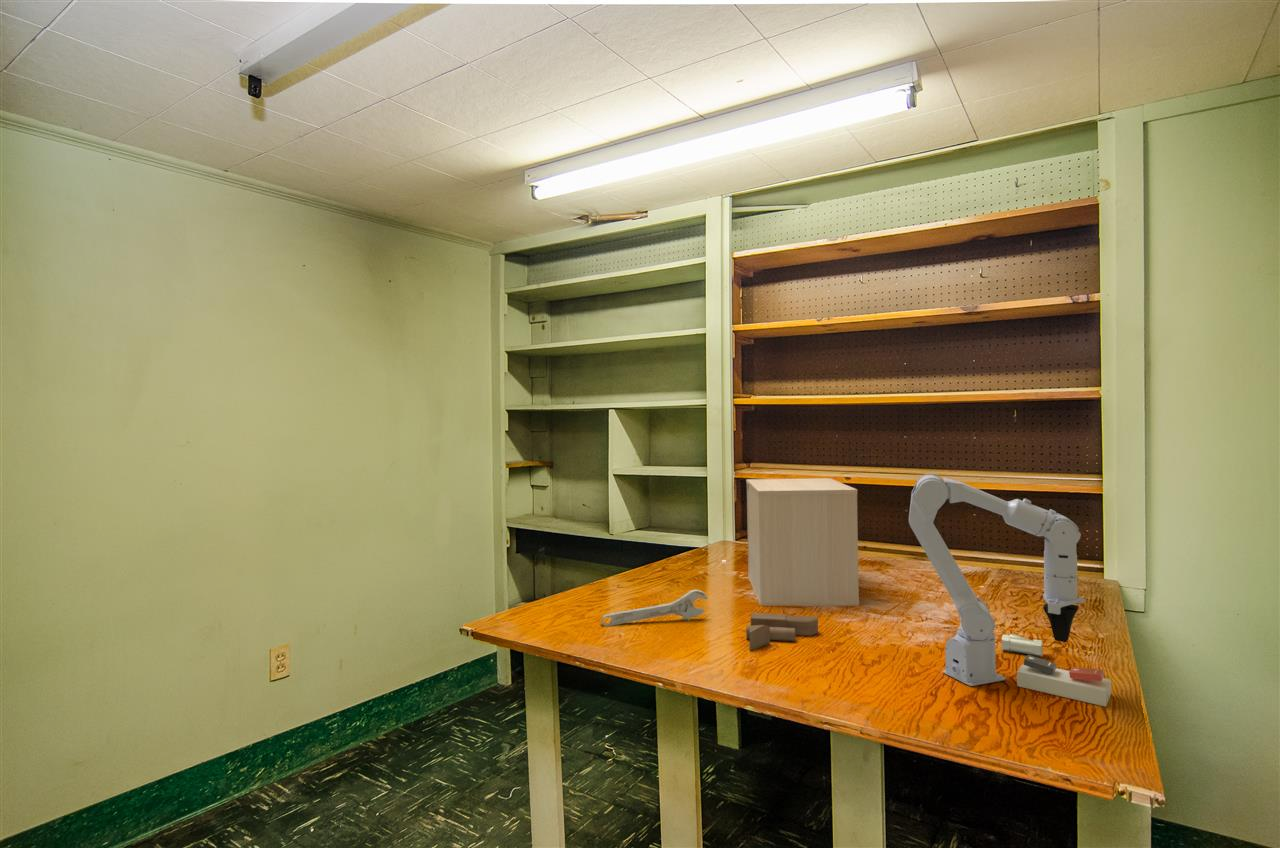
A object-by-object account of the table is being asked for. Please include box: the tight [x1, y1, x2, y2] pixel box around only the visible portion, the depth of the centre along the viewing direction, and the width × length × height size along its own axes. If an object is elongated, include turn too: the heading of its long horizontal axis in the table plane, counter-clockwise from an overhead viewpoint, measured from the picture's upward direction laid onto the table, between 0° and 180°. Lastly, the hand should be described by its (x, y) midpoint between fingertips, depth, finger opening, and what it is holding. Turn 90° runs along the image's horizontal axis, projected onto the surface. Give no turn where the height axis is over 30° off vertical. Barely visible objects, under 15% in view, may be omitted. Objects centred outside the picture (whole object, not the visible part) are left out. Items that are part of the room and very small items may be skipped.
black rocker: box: [1023, 654, 1058, 675], centre depth 134 cm, size 5×3×1 cm, turn 48°
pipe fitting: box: [1001, 633, 1044, 658], centre depth 153 cm, size 8×4×7 cm
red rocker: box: [1069, 666, 1105, 681], centre depth 129 cm, size 5×3×1 cm, turn 48°
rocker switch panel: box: [1016, 662, 1112, 707], centre depth 132 cm, size 15×7×3 cm, turn 48°
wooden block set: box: [745, 612, 819, 651], centre depth 164 cm, size 17×6×18 cm
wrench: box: [601, 589, 708, 627], centre depth 181 cm, size 8×2×30 cm
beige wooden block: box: [745, 477, 860, 607], centre depth 210 cm, size 35×29×34 cm
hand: (1061, 640), depth 133 cm, fingers closed
